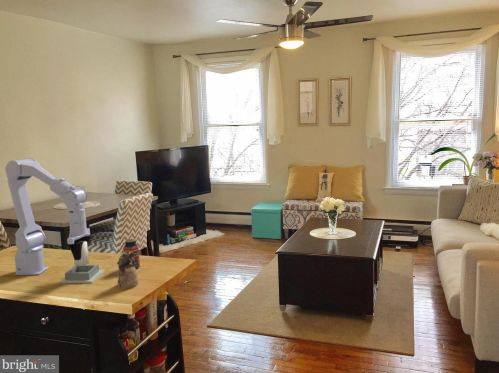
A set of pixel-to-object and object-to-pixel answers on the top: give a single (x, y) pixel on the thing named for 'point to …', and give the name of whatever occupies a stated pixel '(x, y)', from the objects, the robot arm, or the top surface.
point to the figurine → (127, 271)
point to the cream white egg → (83, 255)
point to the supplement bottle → (134, 248)
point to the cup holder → (82, 274)
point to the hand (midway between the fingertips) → (81, 257)
